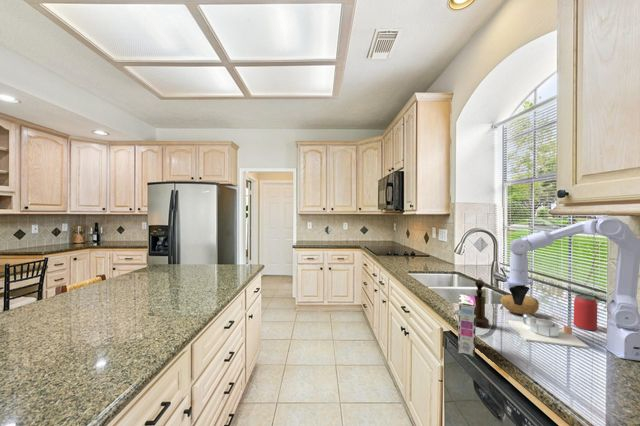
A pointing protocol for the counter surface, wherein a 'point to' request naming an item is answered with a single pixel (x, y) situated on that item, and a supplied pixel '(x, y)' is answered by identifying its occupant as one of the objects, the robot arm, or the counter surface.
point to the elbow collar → (540, 326)
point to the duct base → (563, 338)
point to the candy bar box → (467, 325)
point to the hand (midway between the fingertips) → (518, 304)
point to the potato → (528, 305)
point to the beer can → (585, 312)
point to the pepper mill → (480, 306)
